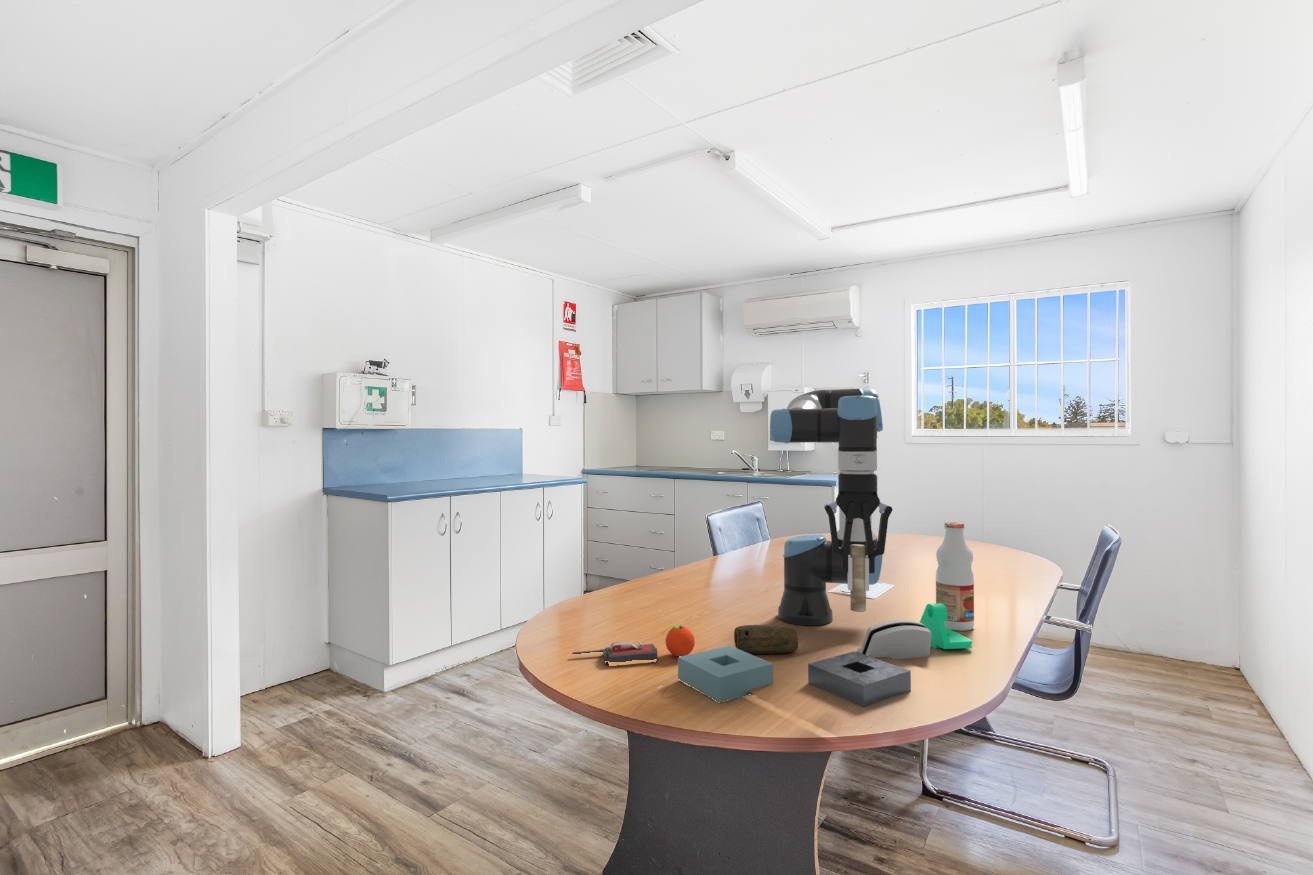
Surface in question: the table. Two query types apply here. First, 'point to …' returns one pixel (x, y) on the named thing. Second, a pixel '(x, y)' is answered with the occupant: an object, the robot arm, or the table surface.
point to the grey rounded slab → (897, 640)
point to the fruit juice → (955, 578)
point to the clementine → (680, 641)
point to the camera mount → (942, 629)
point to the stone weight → (765, 639)
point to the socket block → (724, 672)
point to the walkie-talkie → (627, 652)
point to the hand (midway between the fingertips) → (858, 588)
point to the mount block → (859, 678)
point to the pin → (858, 578)
